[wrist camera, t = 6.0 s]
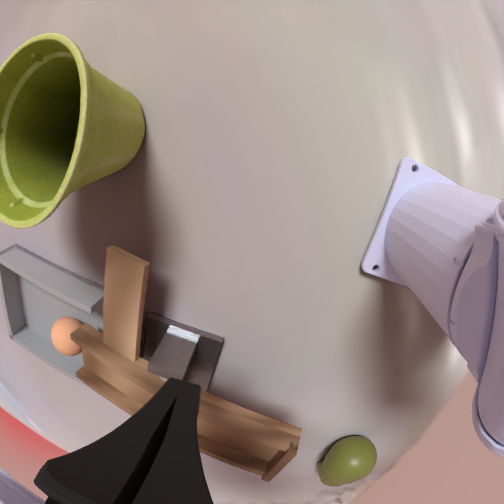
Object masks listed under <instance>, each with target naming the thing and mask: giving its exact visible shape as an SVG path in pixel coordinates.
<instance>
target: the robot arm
mask: <svg viewBox="0 0 504 504" xmlns="http://www.w3.org/2000/svg"><path fill="white" fill-rule="evenodd" d="M413 165H415V166H416V170H415V171H414V172H413V171H412V166H413ZM374 265H378V267H377V269H375V270H372V267H373V266H374ZM361 267H362V269H363V270H364V272H366V273H369V274H372V275H374V276H377V277H380V278H383V279H386V280H389V281H392V282H395V283H398V284H401V285H403V286H406V287H409V288H410V290H411V291H412V292H413V293H414V294H415V296H416V297H417V298H418V299H419V300H420V302H421V303H422V304H423V305H424V307H425V308H426V309H427V310H428V311H429V313H430V314H431V315H432V317H433V318H434V319H435V320H436V322H437V323H438V324H439V326H440V327H441V328H442V329H443V331H444V332H445V333H446V335H447V336H448V337H449V339H450V340H451V341H452V343H453V344H454V345H455V347H456V348H457V350H458V351H459V352H460V354H461V355H462V356H463V358H464V359H465V360H466V361H467V362H468V366H467V367H468V369H469V370H470V372H471V373H472V375H473V376H474V377H475V379H476V381H477V382H478V385H477V388H476V391H475V394H474V398H473V403H472V418H473V424H474V427H475V430H476V432H477V435H478V437H479V439H480V440H481V441H482V442H483V444H484V445H485V446H486V447H487V448H488V449H489V450H490V451H492V452H493V453H495V454H497V455H499V456H501V457H504V199H503V200H500V199H497V198H494V197H491V196H488V195H485V194H482V193H478V192H475V191H471V190H468V189H464V188H462V187H460V186H459V185H457V184H456V183H454V182H452V181H451V180H449V179H448V178H446V177H444V176H442V175H441V174H439V173H437V172H436V171H434V170H432V169H430V168H429V167H427V166H425V165H423V164H421V163H419V162H418V161H416V160H414V159H412V158H409V157H404V158H403V159H401V161H400V164H399V167H398V170H397V173H396V176H395V179H394V182H393V185H392V188H391V190H390V193H389V196H388V199H387V201H386V204H385V207H384V209H383V212H382V215H381V217H380V220H379V222H378V225H377V227H376V230H375V232H374V235H373V237H372V239H371V242H370V244H369V247H368V249H367V251H366V253H365V256H364V258H363V260H362V263H361ZM200 394H201V386H200V385H198V384H194V383H190V382H186V381H182V380H179V379H175V378H172V377H171V378H168V380H167V381H166V382H165V384H164V385H163V386H162V387H161V388H160V389H159V391H158V392H157V393H156V394H155V395H154V396H153V397H152V398H151V399H150V400H149V401H148V402H147V403H146V404H145V405H144V406H143V407H142V408H141V409H140V410H139V411H137V412H136V413H135V414H134V415H133V416H131V417H130V418H129V419H128V420H127V421H125V422H124V423H123V424H122V425H120V426H119V427H117V428H116V429H115V430H113V431H112V432H110V433H109V434H107V435H105V436H104V437H102V438H100V439H99V440H97V441H95V442H93V443H91V444H89V445H87V446H85V447H83V448H81V449H78V450H76V451H74V452H72V453H69V454H66V455H63V456H61V457H57V458H54V459H50V460H48V461H47V462H46V463H45V465H43V467H42V468H41V469H40V471H39V472H38V474H37V476H36V478H35V479H34V483H35V485H36V486H37V487H38V488H39V489H41V490H42V491H43V492H44V493H45V494H46V495H47V496H48V498H47V500H46V501H44V500H43V499H41V498H40V497H38V496H37V495H35V494H34V493H33V492H31V491H30V490H28V489H27V488H26V487H24V486H23V485H21V484H20V483H19V482H18V481H16V480H15V479H14V478H12V477H11V476H10V475H9V474H8V473H6V472H5V471H4V470H3V469H2V468H0V504H213V501H212V498H211V496H210V492H209V489H208V486H207V482H206V479H205V475H204V471H203V467H202V462H201V457H200V451H199V444H198V434H197V418H198V413H199V405H200Z"/></svg>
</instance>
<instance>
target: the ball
mask: <svg viewBox="0 0 504 504" xmlns="http://www.w3.org/2000/svg"><path fill="white" fill-rule="evenodd" d="M82 325H83V324H82V323H81V322H80V321H79V320H77V319H75V318H73V317H62V318H60V319H58V320H57V321H56V322H55V323H54V325H53V327H52V330H51V339H52V342H53V345H54V346H55V348H56V349H57V350H58V351H59V352H60V353H62V354H64V355H67V356H75V355H78V354H80V353H81V352H82V348H81V347H80V346H79V345H77V344H76V343H75V342H73V341H72V340H71V337H70V333H72V332H73V331H75V330H76V329H78V328H79V327H81V326H82Z"/></svg>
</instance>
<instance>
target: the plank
mask: <svg viewBox="0 0 504 504" xmlns="http://www.w3.org/2000/svg"><path fill="white" fill-rule="evenodd" d="M149 269H150V263H149V262H147V261H145V260H143V259H141V258H139V257H137V256H135V255H133V254H131V253H129V252H127V251H125V250H123V249H121V248H119V247H117V246H115V245H111V246H109V247H107V252H106V264H105V279H104V302H103V333H101V332H100V331H98V330H97V329H95V328H94V327H92V326H91V325H90V324H88V323H87V322H86V323H85V324H83V325H82V326H81V327H79V328H78V329H76V330H75V331H73V332H72V333H70V337H71V340H72V341H73V342H75V343H76V344H77V345H79V346H80V347H81V348H82V354H83V362H84V366H83V367H81V368H80V369H79V370H78V371H77V372H76V377H77V378H79V379H80V380H81V381H82V382H84V383H85V384H86V385H88V386H89V387H90V388H92V389H93V390H94V391H96V392H97V393H99V394H100V395H101V396H103V397H104V398H106V399H107V400H109V401H110V402H112V403H113V404H115V405H116V406H118V407H119V408H121V409H122V410H124V411H125V412H127V413H128V414H130V415H132V416H133V415H134V414H135V413H136V412H137V411H139V410H140V409H141V408H142V407H143V406H144V405H145V404H146V403H147V402H148V401H149V400H150V399H151V398H152V397H153V396H154V395H155V394H156V393H157V392H158V391H159V389H160V388H161V387H162V386H163V385H164V384H165V382H166V381H167V380H168V379H166V378H164V377H161V376H158V375H156V374H153V373H151V372H148V371H147V369H148V363H149V362H148V361H146V360H145V359H143V358H141V357H140V343H141V333H142V323H143V314H144V305H145V297H146V290H147V283H148V276H149ZM183 381H184V380H183ZM301 430H302V428H299V427H296V426H293V425H290V424H287V423H284V422H281V421H278V420H275V419H272V418H269V417H267V416H264V415H261V414H259V413H256V412H253V411H251V410H248V409H246V408H243V407H241V406H238V405H236V404H234V403H231V402H229V401H226V400H224V399H222V398H220V397H217V396H215V395H213V394H211V393H209V392H206V391H204V390H202V389H201V394H200V405H199V413H198V418H197V434H198V444H199V451H200V452H202V453H204V454H206V455H208V456H211V457H213V458H216V459H218V460H220V461H223V462H225V463H228V464H231V465H233V466H236V467H239V468H241V469H244V470H247V471H250V472H253V473H256V474H259V475H262V476H263V477H262V480H265V481H268V482H269V481H270V480H271V479H272V478H273V477H274V476H276V475H277V474H278V473H279V472H280V471H281V470H282V469H283V468H284V467H285V466H286V465H287V464H288V463H289V462H290V461H291V460H292V459H293V458H294V457H295V456H296V454H297V450H298V445H299V440H300V435H301Z"/></svg>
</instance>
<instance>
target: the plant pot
mask: <svg viewBox="0 0 504 504" xmlns="http://www.w3.org/2000/svg"><path fill="white" fill-rule="evenodd" d="M144 133H145V122H144V117H143V112H142V108H141V104H140V102H139V101H138V99H137V98H136V97H135V96H134V95H133V94H131V93H130V92H128V91H127V90H125V89H124V88H122V87H121V86H119V85H117V84H116V83H114V82H113V81H111V80H110V79H108V78H107V77H105V76H104V75H102V74H101V73H99V72H98V71H96V70H95V69H93V68H92V67H91V66H90V65H89V64H88V62H87V61H86V60H85V59H84V56H83V54H82V52H81V50H80V49H79V47H78V46H77V45H76V44H75V43H74V42H73V41H72V40H70V39H69V38H67V37H65V36H63V35H61V34H56V33H47V34H42V35H38V36H35V37H33V38H31V39H29V40H28V41H26V42H25V43H24V44H22V45H21V46H20V47H18V48H17V49H16V50H15V51H14V52H13V53H12V54H11V55H10V56H9V57H8V59H7V60H6V61H5V62H4V63H3V65H2V66H1V68H0V221H2V222H3V223H4V224H6V225H8V226H10V227H13V228H19V229H25V228H30V227H32V226H35V225H37V224H39V223H41V222H43V221H44V220H45V219H47V218H48V217H49V216H50V215H51V214H52V213H53V212H54V211H55V210H56V209H57V208H58V206H59V205H60V204H61V202H62V201H63V200H64V199H65V198H66V197H67V196H68V195H69V194H70V193H72V192H73V191H75V190H77V189H79V188H81V187H83V186H85V185H88V184H90V183H92V182H94V181H96V180H98V179H101V178H103V177H105V176H108V175H110V174H113V173H115V172H117V171H119V170H120V169H122V168H124V167H125V166H126V165H128V164H129V163H130V162H131V161H132V159H133V158H134V157H135V155H136V154H137V152H138V150H139V149H140V146H141V144H142V141H143V137H144Z"/></svg>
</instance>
